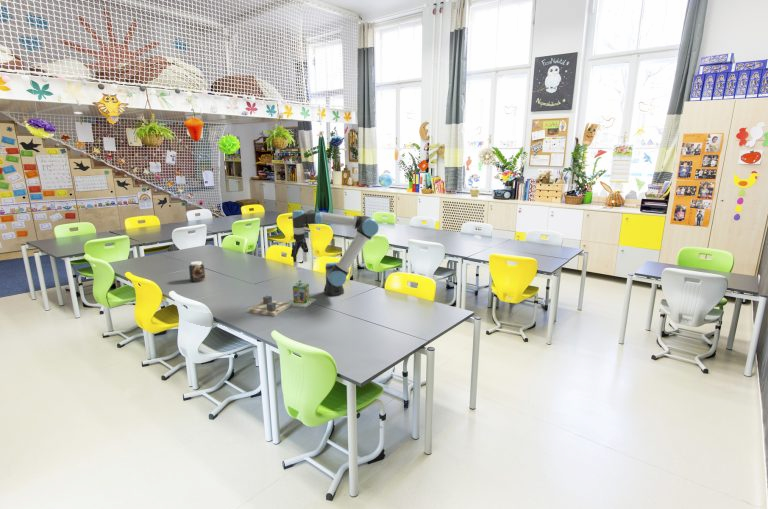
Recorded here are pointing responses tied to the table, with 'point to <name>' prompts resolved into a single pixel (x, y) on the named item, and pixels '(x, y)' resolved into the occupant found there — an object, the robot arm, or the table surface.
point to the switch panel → (262, 309)
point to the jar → (197, 271)
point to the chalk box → (301, 292)
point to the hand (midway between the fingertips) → (300, 263)
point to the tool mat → (302, 303)
